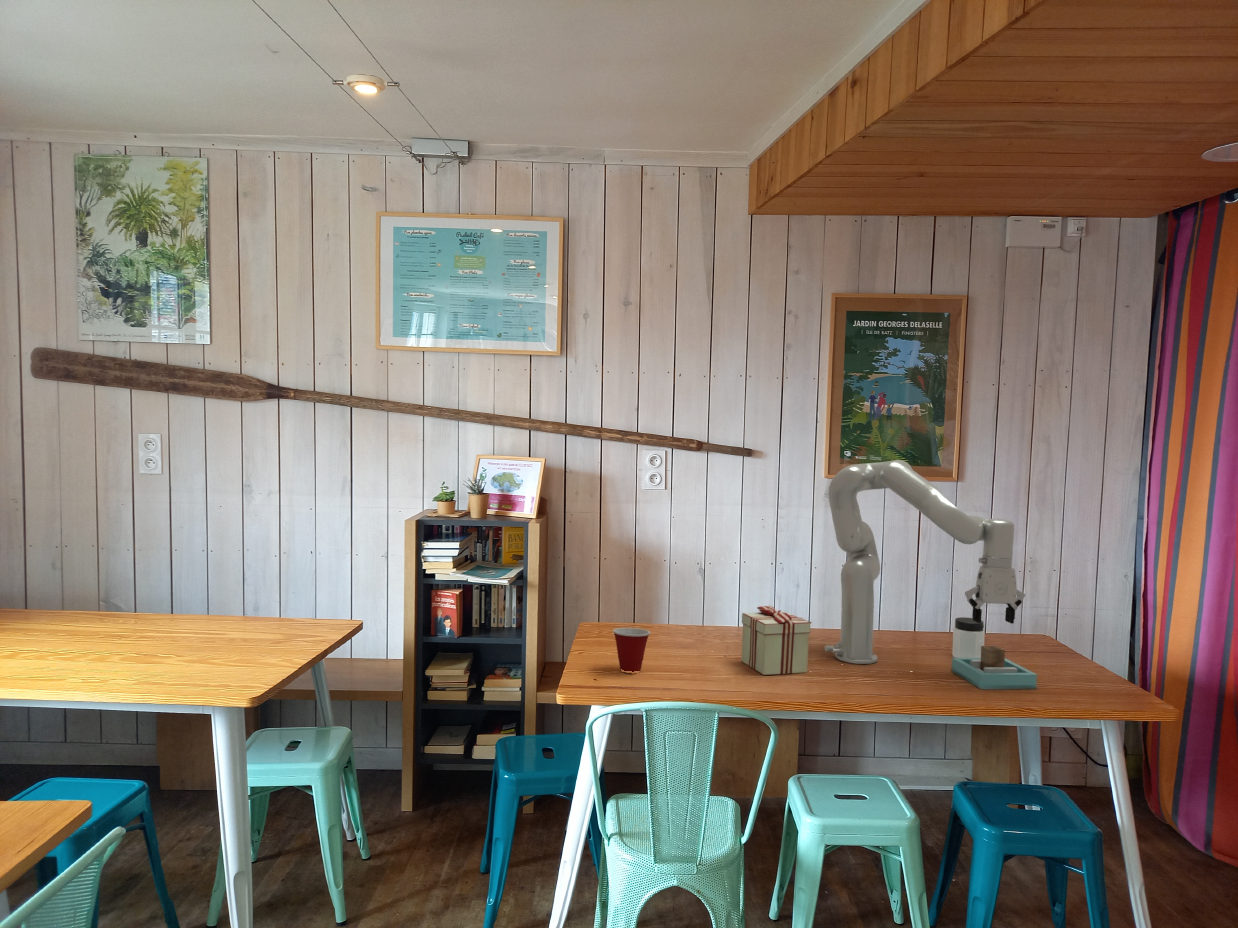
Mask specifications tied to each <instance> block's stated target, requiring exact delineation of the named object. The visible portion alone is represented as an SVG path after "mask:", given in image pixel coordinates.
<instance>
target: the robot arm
mask: <svg viewBox="0 0 1238 928" xmlns="http://www.w3.org/2000/svg"><path fill="white" fill-rule="evenodd" d="M883 489H884V490H885V489H890V491H892V492H893V493H894V494H896V495H898V496H899V497H900V498H902V500H904V501H906V502H907V503H908V504H910V505H911V506H912V507H913V508H915V509H916V510H918V512H920V513H921V514H922V515H923V516H925V518H927V519H928V520H930V521H931V522H932V523H933V524H934V525H935V526H937V527H938V528H939V529H941V530H942V531H943V532H945V533H946V535H947V534H948V535H949V536H950V537H952V539H954V540H956V541H957V542H959V543H961V544H964V545H973V544H976V543H977V542H980V541H981V542H983V548H982V549H983V551H982V556H981V557H979V558H978V563H979V564H981V565H980V566H979V569H978V573H977V576H976V582H975V586H974V587H972V588H971V589H967V590H966V591H964V595H965V597H966V600H967V602H968V603H969V604H970V606H971V607H972V616H971V618H973V621H975V622H977V623H980V622H981V620H982V614H983V613H982V612H983V610H982V609H981V608H982V606H983V605H984V604H985V603H986V604H994V605H995V604H999V605H1000V604H1003V605H1006V606H1007V607H1006V608H1005V615H1004V616H1005V617H1004V620H1005V622H1007V623H1009V624H1012V625H1013V624H1015V623H1014V622H1015V618H1016V610H1018V607H1020V606H1021V604H1022V602H1023V601H1024V598H1025V597H1026V594H1025V593H1024V592H1022V591H1020V590H1018V588H1017V576H1016V570H1015V567H1014V568H1013V567H1012V566H1013V551H1014V538H1015V537H1014V535H1015V523H1014V522H1013V521H1012V520H1010V519H1004V518H986V517H982V516H977V515H968V514H967V513H965V512H964V511H962V510H960V509H959V508H958V507H956V505H954V504H953V503H952V502H950V501H949V500H948V498H947V497H946V496H945V495H944V493H943V492H942V491H941V490H940V489H939V488H938V487H937V486H936V485H935V484H934V483H931V481H929V480H927V479H926V478H924V477H923V476H922V475H920V474H919V473H917V472H916V471H915V470H913V468H912V466H911V464H909V463H908V462H906V461H904V460H901V459H894V460H889V461H881V462H870V463H858V464H851V465H848V466H845V467H844V468H842V469H841V470H840V471H838V472H837V473H836V474H834V476H833V478H832V479H831V480H830V483H829V487H828V493H827V495H828V502H829V507H830V513H831V518H832V523H833V528H834V532H835V537H836V538H835V539H836V543H837V545H838V547H839V548H840V550H842V551H843V552H845V553H846V558H847V560H846V562H845V563H844V564H843V566H842V568H841V573H840V584H841V585H840V586H841V613H840V614H841V616H840V617H841V619H840V620H841V621H840V622H841V624H840V641H837V643H836V644H834V645H832V644H831V645H830V644H825V645H824V651H825V652H831V654H834V657H835V658H836V659H837V660H839V661H841V662H845V663H848V664H849V663H850V664H856V665H857V664H858V665H869V664H871V665H872V664H874V663H876V662H877V661H878V655H876V654H875V653H874V652H873V646H874V645H873V642H874V639H873V638H874V614H875V613H874V612H875V610H874V609H875V608H874V607H875V605H874V604H875V595H874V594H875V593H874V583H875V581H876V580H877V578H878V577H879V575H880V573H881V565H880V564H881V562H880V558H879V554H878V550H877V545H876V541H875V536H874V533H873V530H872V528H871V526H870V525H869V524H868V523H866V522H865V521H863V520H862V519H863V518H862V515H861V510H860V505H859V503H858V500H857V495H858V493H859V492H863V491H870V490H871V491H872V490H883ZM974 595H975V599H974V597H973V596H974Z"/></svg>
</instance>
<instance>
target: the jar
mask: <svg viewBox="0 0 1238 928" xmlns="http://www.w3.org/2000/svg"><path fill="white" fill-rule="evenodd" d="M984 627H985V626H984V621H983V620H982V619H981V622H980V623H977V622H975V621H973V618H972V617H966V616H965V617H964V616H963V617H962V616H961V617H956V618H955V620H954V626H953V629H952V630H953V634H952V654H951V655H952V658H981V646H985V639H986V637H985V633H986V631H985V630H984Z"/></svg>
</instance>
